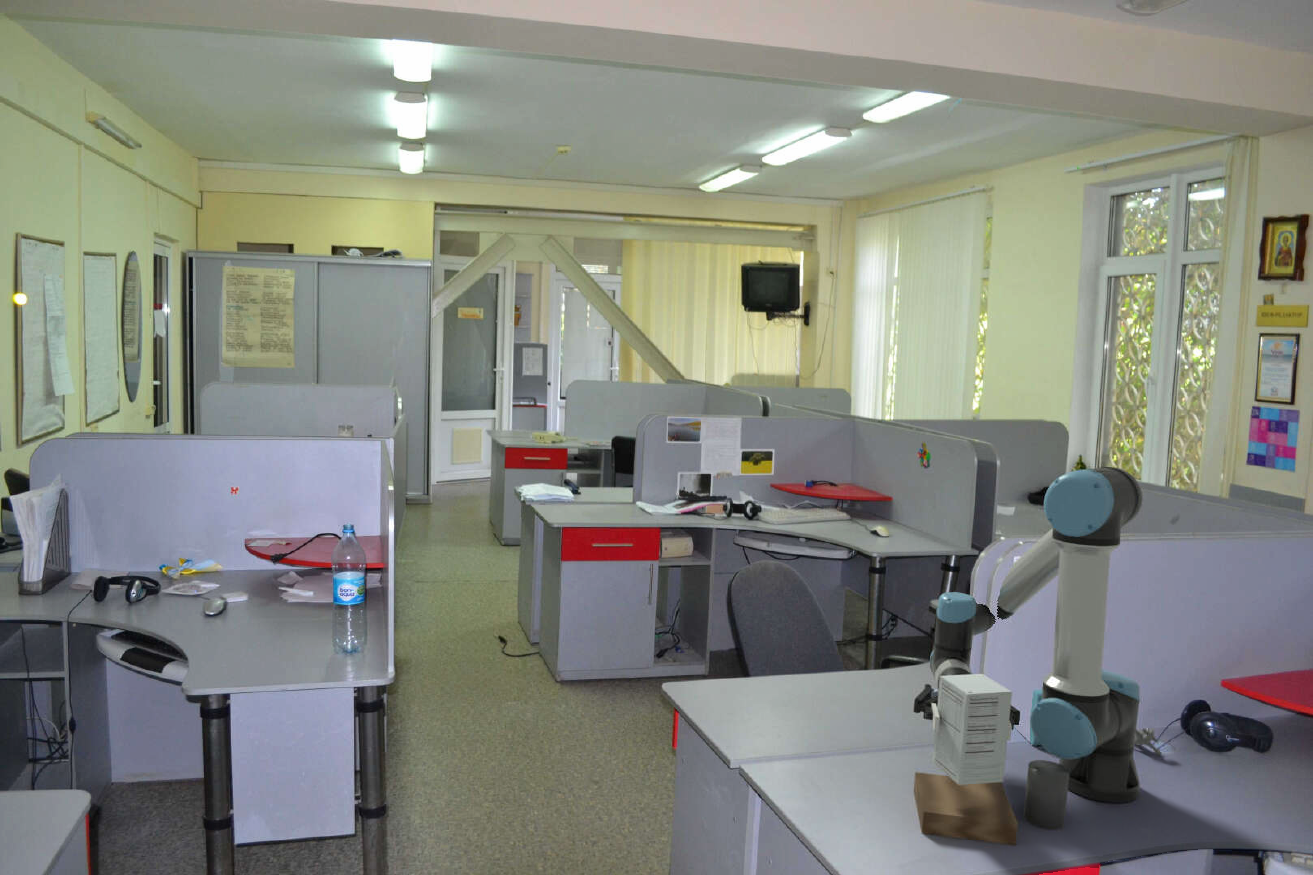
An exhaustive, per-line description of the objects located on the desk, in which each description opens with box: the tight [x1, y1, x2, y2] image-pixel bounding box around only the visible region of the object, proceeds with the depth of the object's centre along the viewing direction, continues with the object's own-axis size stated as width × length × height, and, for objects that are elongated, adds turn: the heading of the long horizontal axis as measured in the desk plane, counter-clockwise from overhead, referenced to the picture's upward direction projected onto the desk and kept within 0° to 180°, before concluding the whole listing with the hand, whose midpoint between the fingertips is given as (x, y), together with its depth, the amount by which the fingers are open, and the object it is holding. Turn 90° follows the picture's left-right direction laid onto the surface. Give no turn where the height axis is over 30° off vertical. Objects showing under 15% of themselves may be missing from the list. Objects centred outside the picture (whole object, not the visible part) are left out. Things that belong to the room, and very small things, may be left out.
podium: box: [913, 771, 1019, 846], centre depth 180 cm, size 16×16×4 cm
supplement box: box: [931, 673, 1013, 785], centre depth 176 cm, size 10×9×17 cm
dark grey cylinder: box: [1023, 759, 1069, 831], centre depth 180 cm, size 7×7×10 cm
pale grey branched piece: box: [1134, 725, 1163, 756], centre depth 215 cm, size 10×6×9 cm
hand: (972, 728), depth 174 cm, fingers closed on supplement box, 12 cm apart
